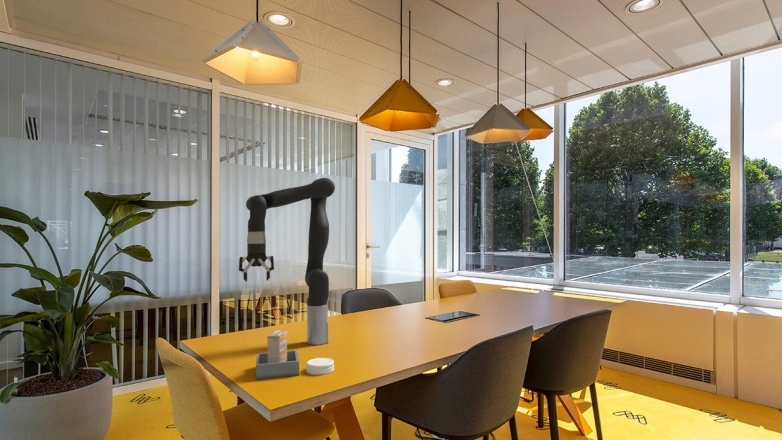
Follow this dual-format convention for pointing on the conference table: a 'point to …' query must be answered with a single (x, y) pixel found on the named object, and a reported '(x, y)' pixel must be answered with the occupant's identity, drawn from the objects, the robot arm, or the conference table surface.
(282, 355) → the supplement box
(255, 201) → the robot arm
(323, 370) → the white short cylinder
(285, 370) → the bin
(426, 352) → the conference table surface
